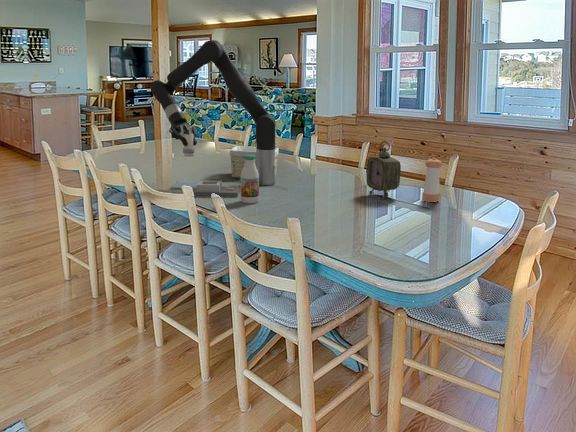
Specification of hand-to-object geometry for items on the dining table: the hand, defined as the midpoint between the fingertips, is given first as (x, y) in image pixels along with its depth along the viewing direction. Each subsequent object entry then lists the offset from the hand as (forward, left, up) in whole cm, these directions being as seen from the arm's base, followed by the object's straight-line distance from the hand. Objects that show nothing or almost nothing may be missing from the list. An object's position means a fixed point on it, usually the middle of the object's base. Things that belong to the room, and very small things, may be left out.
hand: (191, 144), depth 253 cm
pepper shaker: (-108, +18, -21) cm, 111 cm away
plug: (+1, -1, -5) cm, 6 cm away
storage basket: (-27, -31, -21) cm, 46 cm away
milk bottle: (-29, +26, -21) cm, 44 cm away
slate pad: (+2, -2, -20) cm, 21 cm away
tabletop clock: (-88, +11, -21) cm, 91 cm away
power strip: (-13, +12, -20) cm, 27 cm away
